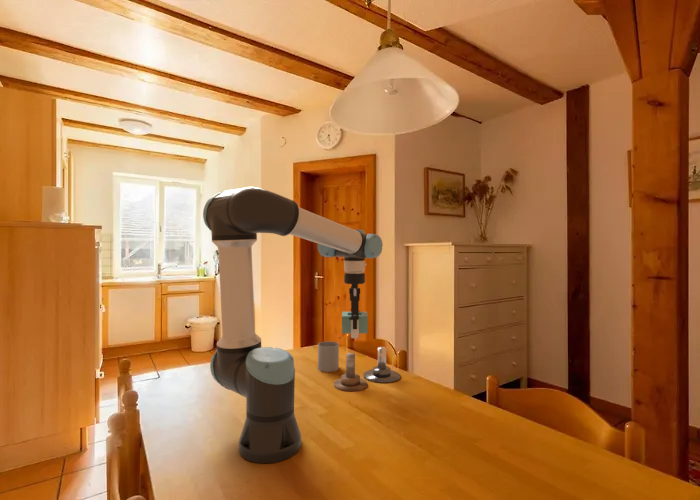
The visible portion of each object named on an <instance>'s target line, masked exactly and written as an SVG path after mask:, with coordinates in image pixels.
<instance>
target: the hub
mask: <svg viewBox="0 0 700 500" xmlns="http://www.w3.org/2000/svg"><path fill="white" fill-rule="evenodd" d="M363 378H364V380H365V381H366V380H367V381H369V382H371V383H379V384H390V383H395V382H397V381H399V380H400V379H401V374H400V373H399V371H396V370H393V369H392V368H391V367H390V366H387V347H385V346H378V347H377V365H376V366H373V367H372V369H368V370H366V371H364V372H363Z"/></svg>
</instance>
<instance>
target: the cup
mask: <svg viewBox="0 0 700 500" xmlns="http://www.w3.org/2000/svg"><path fill="white" fill-rule="evenodd" d="M339 344H340V343H338V342H337V341H322V342H318V343H317V370H318V371H319V370H320V372H322V371H323V372H324V373H331V372H332V371H333V372H337V371H338V370H339V369H338V368H340V367H339V366H340V365H339V364H340V363H339V360H340V359H339V358H340V357H339V356H340V353H339V352H340V351H339V350H340V349H339V348H340V345H339Z"/></svg>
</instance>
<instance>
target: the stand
mask: <svg viewBox="0 0 700 500" xmlns="http://www.w3.org/2000/svg"><path fill="white" fill-rule="evenodd" d="M333 387H334V388H335V389H337V390H340V391H344V392H359V391H362V390H365V389H366V388H367V387H368V382H367V381H366V379H362V378H361V375H359V374H357V373H356V353H353V352H348V353H346V354H345V373H344V374H342V375H341V376H340V378H339V379H335V381H334V382H333Z"/></svg>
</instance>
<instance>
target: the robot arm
mask: <svg viewBox="0 0 700 500" xmlns="http://www.w3.org/2000/svg"><path fill="white" fill-rule="evenodd" d="M202 218H203V223H204V224H205V226H206V228H208V229H209V231H210V233H211V242H212V243H213V244H214V245H215V246H216V247H217V250H218V266H219V269H218V270H219V289H220V291H219V292H220V293H219V294H220V309H221V310H220V313H221V316H220V317H221V332H222V333H221V334H222V336H221V337H220V338H219V340H217V342H216V350H215V351H214V352H215V353H214V354H212V357H211V359H210V368H209V369H210V373H211V375H212V378H213V380H215V382H216V383H217V384H219V385H220V386H221V387H223V388H224V389H226V390H229V391H232V392H234V393H236V394H238V395H240V396H242V397H245V400H246V401H245V402H246V409H245V410H246V411H245V412H246V414H245V415H246V416H245V417H246V418H245V421H244V424H243V427H242V429H241V430H242V431H241V432H240V436H239V440H238V453H239V455H240V456H241V458H243V459H244V460H247V462H248V461H249V462H252V463H256V464H271V463H279V462H281V461H284V460H287V459H289V458H291V457H293V456H294V455H296V454H297V453H298V452H299V450H300V449H301V446H302V434H301V431H300V427H299V425H298V422H297V417H296V415H295V386H296V385H295V382H296V381H295V379H296V378H295V377H296V368H295V360H294V357H293V356H292V354H291V353H290V352H289V351H287V350H286V349H282V348H280V347H271V346H264V347H262V338H261V336H259V335H258V334H257V333H256V325H255V324H256V322H255V302H254V301H255V299H254V274H253V273H254V271H253V253H252V251H253V250H252V247H253V245H254V244H255V243H256V242H257V240H258V236H257V235H258V234H273V235H274V234H275V235H277V236H281V237H287V236H289V235H291V236H293V237H297V238H300V239H303V240H307V241H309V242H311V243H312V242H313V243H316V244H317V250H318V253H319V255H321V256H322V257H325V258H343V259H344V260H343V271H344V272H345V273H344V275H343V276H344V278H343V280H344V281H343V282H344V284H345V285H350V287H349V288H348V290H349V291H348V293H349V301H350V312H351V318H349V320H351V333H350V338H351V339H360V338H359V336H360V333H359V312H361V311H360V310H359V306H360V305H359V302H360V298H361V297H360V294H361V288H360V287H359V285H361V284H362V285H364V284H365V283H366V274H365V271H366V266H367V263H366V259H375V258H377V257H379V256H380V255H381V254H382V251H383V245H384V244H383V240H382V238H381V237H380V236H379V234H377V233H365V230H363V229H353V228H351V227H348V226H346V225H343V224H341V223H338V222H336V221H334V220H331V219H328V218H327V217H324V216H322V215H319V214H316V213H313V212H311V211H309V210H307V209H304V208H302V207H300V206H299V204H298V202H297V201H295V200H292V199H290V198H288V197H285V196H283V195H281V194H278V193H276V192H273V191H270V190H267V189H265V188H260V187H256V186H246V187H242V188H234V189H225V190H222V191H220V192H217V193H215V194H213V195H211V196H210V197H209V198H208V200H207V201H206V203H205V204H204V207H203V212H202Z"/></svg>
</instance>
